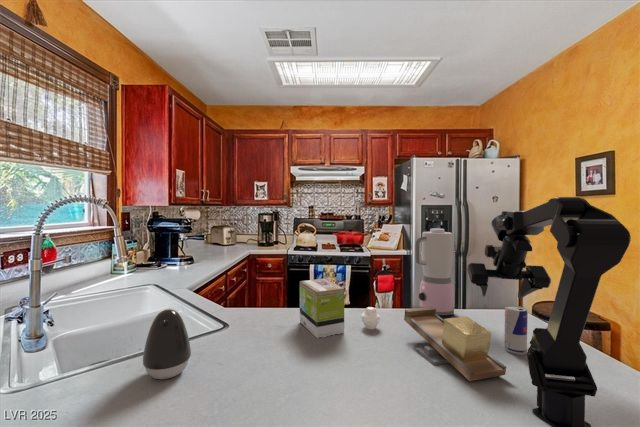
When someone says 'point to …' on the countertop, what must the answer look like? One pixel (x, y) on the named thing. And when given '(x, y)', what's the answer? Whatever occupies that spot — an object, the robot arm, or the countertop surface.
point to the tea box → (322, 307)
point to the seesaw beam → (432, 332)
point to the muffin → (370, 318)
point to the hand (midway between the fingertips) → (500, 296)
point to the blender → (436, 270)
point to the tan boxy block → (466, 339)
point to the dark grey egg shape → (166, 346)
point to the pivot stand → (432, 355)
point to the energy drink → (515, 330)
